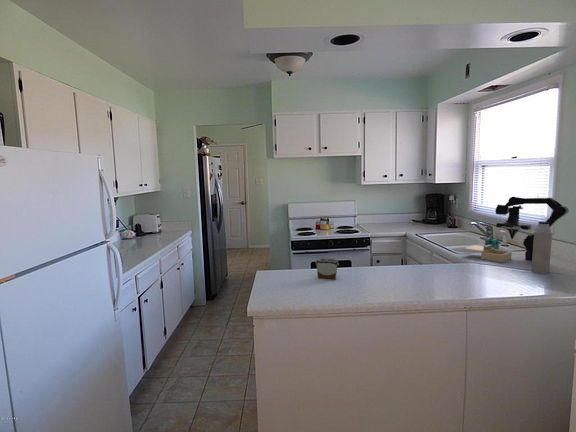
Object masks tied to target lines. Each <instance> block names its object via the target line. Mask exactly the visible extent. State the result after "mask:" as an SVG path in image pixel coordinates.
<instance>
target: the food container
mask: <svg viewBox="0 0 576 432" xmlns="http://www.w3.org/2000/svg"><path fill="white" fill-rule="evenodd" d="M314 264H315V265H316V274H317V279H318V280H325V281H326V280H328V281H336V280H337V270H338V266H340V265H339V261H338V259H334V258H330V257H329V258H327V257H325V258H323V257H322V258H318V259H316V260H315V262H314Z"/></svg>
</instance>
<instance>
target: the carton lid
mask: <svg viewBox="0 0 576 432" xmlns="http://www.w3.org/2000/svg"><path fill="white" fill-rule="evenodd" d="M463 249H464V250H468V251H472V252H473V251H475V252H480V253H481V252H486V251H489V250H492V249H494V248H492V245H486V246H485V245H476V244H475V245H471V246H467V247H464V248H463Z"/></svg>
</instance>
